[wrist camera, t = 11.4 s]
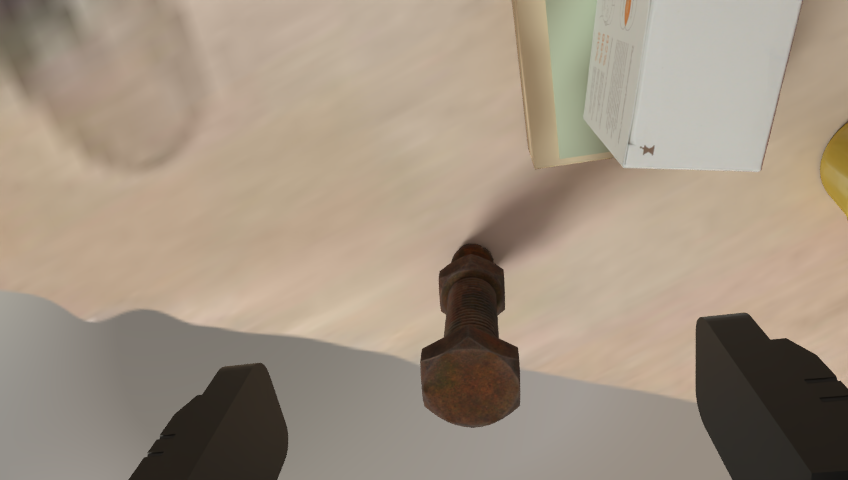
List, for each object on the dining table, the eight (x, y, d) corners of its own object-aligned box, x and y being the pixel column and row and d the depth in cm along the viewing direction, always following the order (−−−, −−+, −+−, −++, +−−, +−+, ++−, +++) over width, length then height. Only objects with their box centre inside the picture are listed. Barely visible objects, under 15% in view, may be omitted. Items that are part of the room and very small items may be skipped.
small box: (679, 122, 33) (763, 178, 23) (579, 119, 33) (621, 173, 24) (709, -34, 30) (821, -43, 20) (598, -35, 30) (655, -45, 20)
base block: (716, -86, 33) (757, -99, 28) (713, 120, 38) (747, 139, 33) (506, -44, 35) (511, -49, 30) (528, 148, 40) (535, 170, 35)
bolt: (423, 271, 44) (399, 400, 30) (453, 217, 42) (441, 328, 28) (490, 303, 45) (497, 443, 31) (523, 250, 43) (545, 376, 29)
